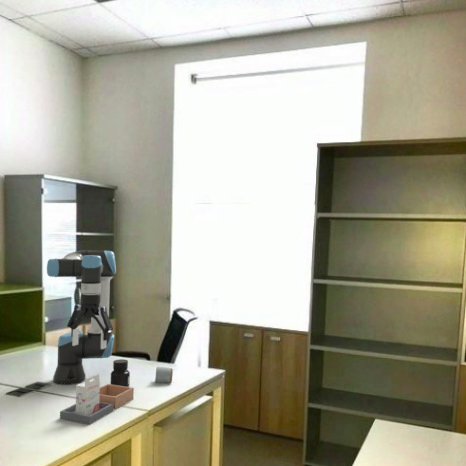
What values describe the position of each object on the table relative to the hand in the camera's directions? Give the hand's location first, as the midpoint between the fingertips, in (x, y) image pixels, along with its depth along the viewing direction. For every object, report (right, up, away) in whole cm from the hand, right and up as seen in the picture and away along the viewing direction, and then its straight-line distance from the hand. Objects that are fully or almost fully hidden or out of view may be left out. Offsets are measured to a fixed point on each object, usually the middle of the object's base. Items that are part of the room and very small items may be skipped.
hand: (89, 346), depth 180 cm
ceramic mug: (+23, -29, +44) cm, 58 cm away
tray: (0, -27, -2) cm, 27 cm away
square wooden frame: (+5, -27, +13) cm, 31 cm away
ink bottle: (+3, -28, +35) cm, 45 cm away
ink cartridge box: (0, -26, -1) cm, 26 cm away
